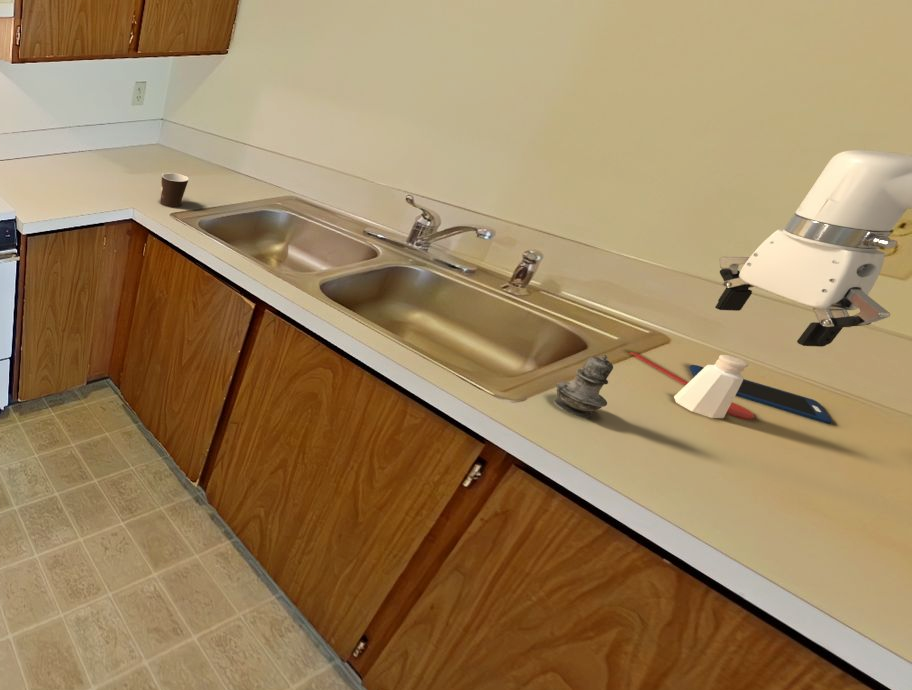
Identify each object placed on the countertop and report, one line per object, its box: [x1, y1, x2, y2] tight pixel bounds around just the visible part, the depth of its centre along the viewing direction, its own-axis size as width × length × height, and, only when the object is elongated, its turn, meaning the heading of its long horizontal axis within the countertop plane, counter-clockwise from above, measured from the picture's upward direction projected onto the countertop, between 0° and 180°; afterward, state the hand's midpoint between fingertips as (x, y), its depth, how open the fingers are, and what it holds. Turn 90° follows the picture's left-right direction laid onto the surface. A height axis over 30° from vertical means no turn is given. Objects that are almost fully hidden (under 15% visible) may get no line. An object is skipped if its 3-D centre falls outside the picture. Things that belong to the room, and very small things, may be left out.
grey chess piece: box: [552, 354, 614, 419], centre depth 87 cm, size 6×6×12 cm
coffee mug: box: [160, 172, 190, 208], centre depth 176 cm, size 12×9×10 cm
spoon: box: [629, 352, 755, 420], centre depth 95 cm, size 17×5×1 cm, turn 175°
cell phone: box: [689, 364, 833, 425], centre depth 93 cm, size 7×14×1 cm, turn 44°
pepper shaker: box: [673, 354, 749, 419], centre depth 88 cm, size 5×5×11 cm
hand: (766, 326), depth 82 cm, fingers open, 9 cm apart
